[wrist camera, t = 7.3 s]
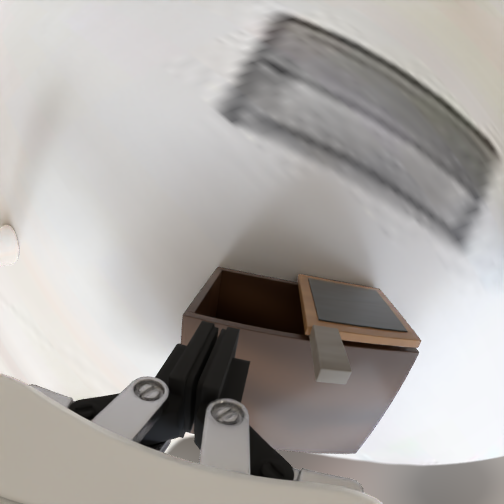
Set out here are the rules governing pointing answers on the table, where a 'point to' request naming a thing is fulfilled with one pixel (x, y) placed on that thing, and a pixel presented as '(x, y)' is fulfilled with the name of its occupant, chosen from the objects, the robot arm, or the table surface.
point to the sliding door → (347, 323)
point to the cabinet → (296, 366)
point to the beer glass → (8, 246)
